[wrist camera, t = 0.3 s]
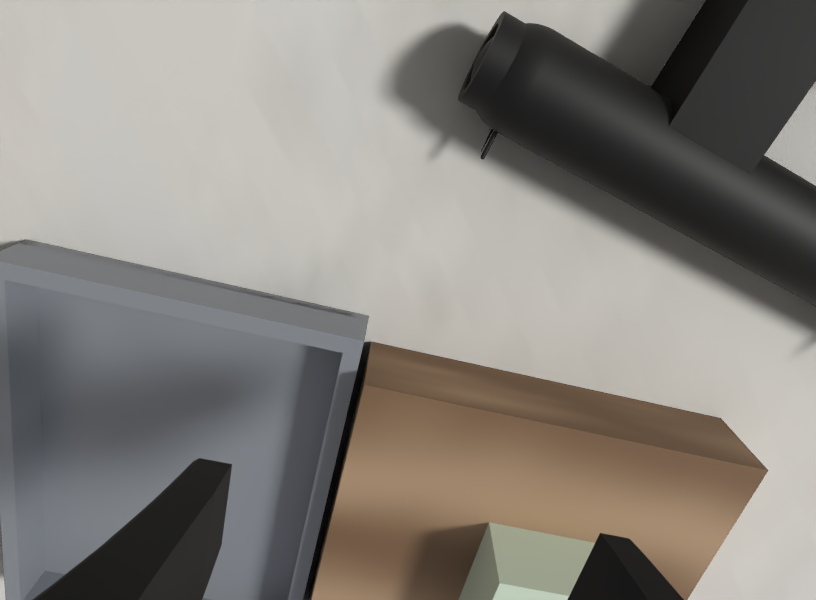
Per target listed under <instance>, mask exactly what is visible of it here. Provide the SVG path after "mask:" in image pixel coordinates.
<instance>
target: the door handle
mask: <svg viewBox="0 0 816 600" xmlns="http://www.w3.org/2000/svg"><path fill="white" fill-rule="evenodd" d="M815 81H816V0H706V1H705V3H704V4H703V6H702V8H701V9H700V11H699V12H698V14H697V15H696V17H695V19H694V20H693V22H692V23H691V25H690V27H689V28H688V30H687V31H686V33H685V34H684V36H683V38H682V39H681V41H680V42H679V44H678V45H677V47H676V49H675V50H674V52H673V53H672V55H671V57H670V58H669V60H668V61H667V63H666V64H665V66H664V68H663V69H662V71H661V72H660V74H659V75H658V77H657V79H656V80H655V82H654V83H653V85H652V86H651V88H650V87H649V86H647V85H645V84H644V83H642V82H640V81H638V80H637V79H635V78H633V77H632V76H630V75H628V74H627V73H625V72H623V71H622V70H620V69H618V68H617V67H615V66H613V65H612V64H610V63H608V62H607V61H605V60H603V59H602V58H600V57H598V56H596V55H595V54H593V53H591V52H590V51H588V50H586V49H585V48H583V47H581V46H580V45H578V44H576V43H575V42H573V41H571V40H570V39H568V38H566V37H565V36H563V35H561V34H560V33H558V32H556V31H555V30H553V29H551V28H549V27H546V26H543V25H539V24H532V23H526V24H525V23H523V22H522V21H520V20H518V19H517V18H515V17H513V16H512V15H510V14H508V13H507V12H505V11H504V12H503V13H502V14H501V15H500V16H499V18H498V19H497V21H496V22H495V24H494V26H493V27H492V29H491V31H490V32H489V34H488V36H487V38H486V40H485V41H484V43H483V45H482V47H481V49H480V51H479V53H478V55H477V56H476V58H475V60H474V62H473V64H472V67H471V69H470V71H469V73H468V75H467V77H466V79H465V82H464V84H463V86H462V89H461V91H460V94H459V97H458V100H459V101H461V102H463V103H464V104H466V105H468V106H470V107H472V108H474V109H475V110H476V111H477V112H478V114H479V116H480V117H481V118H482V120H483V121H484V122H485V123H486V124H487V125H488V126H489V127H490V128H492V129H491V131H490V133H489V136H488V138H487V140H486V142H487V141H488V139H489V137H490V135H491V134H492V132H493V130H495V131H494V132H493V134H492V136H491V138H490V140H489V142H488V144H487V146H486V147H485V149H484V151H483V153H482V155H481V159H484V158H485V156H486V154H487V152H488V151H489V149H490V147H491V145H492V143H493V141H494V139H495V137H496V136H497V134H498V133H500V134H502V135H504V136H506V137H507V138H509V139H511V140H513V141H515V142H517V143H518V144H520V145H522V146H524V147H526V148H528V149H529V150H531V151H533V152H535V153H537V154H539V155H540V156H542V157H544V158H546V159H548V160H550V161H551V162H553V163H555V164H557V165H559V166H561V167H562V168H564V169H566V170H568V171H570V172H571V173H573V174H575V175H577V176H579V177H581V178H582V179H584V180H586V181H588V182H590V183H592V184H593V185H595V186H597V187H599V188H601V189H603V190H604V191H606V192H608V193H610V194H612V195H614V196H615V197H617V198H619V199H621V200H623V201H625V202H626V203H628V204H630V205H632V206H634V207H636V208H637V209H639V210H641V211H643V212H645V213H647V214H648V215H650V216H652V217H654V218H656V219H658V220H659V221H661V222H663V223H665V224H667V225H669V226H670V227H672V228H674V229H676V230H678V231H680V232H681V233H683V234H685V235H687V236H689V237H691V238H692V239H694V240H696V241H698V242H700V243H702V244H703V245H705V246H707V247H709V248H711V249H712V250H714V251H716V252H718V253H720V254H722V255H723V256H725V257H727V258H729V259H731V260H733V261H734V262H736V263H738V264H740V265H742V266H744V267H745V268H747V269H749V270H751V271H753V272H755V273H756V274H758V275H760V276H762V277H764V278H766V279H767V280H769V281H771V282H773V283H775V284H777V285H778V286H780V287H782V288H784V289H786V290H788V291H789V292H791V293H793V294H795V295H797V296H799V297H800V298H802V299H804V300H806V301H808V302H810V303H811V304H813V305H815V306H816V186H815V185H813V184H811V183H810V182H808V181H806V180H805V179H803V178H801V177H800V176H798V175H796V174H795V173H793V172H791V171H790V170H788V169H786V168H785V167H783V166H781V165H780V164H778V163H776V162H774V161H773V160H771V159H769V158H768V157H766V156H764V154H765V153H766V151H767V150H768V148H769V147H770V146H771V144H772V143H773V141H774V140H775V138H776V137H777V136H778V134H779V133H780V131H781V130H782V128H783V127H784V126H785V124H786V123H787V121H788V120H789V118H790V117H791V116H792V114H793V113H794V111H795V110H796V108H797V107H798V105H799V104H800V103H801V101H802V100H803V98H804V97H805V95H806V94H807V93H808V91H809V90H810V88H811V87H812V85H813V84H814V83H815ZM489 130H490V129H489ZM486 142H485V144H486ZM485 144H484V146H485ZM484 146H483V147H484ZM482 149H483V148H482ZM481 151H482V150H481Z"/></svg>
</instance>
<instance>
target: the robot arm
mask: <svg viewBox="0 0 816 600" xmlns="http://www.w3.org/2000/svg"><path fill="white" fill-rule="evenodd" d="M231 470H232V464H229V463H223V462H218V461H213V460H207V459H202V458H198V459H197V460H195V461H193V462H192V463H191V464H190V465H189V466H188V467H187V468H186V469H185V470H184V471H183V472H182V473H181V474H180V475H179V476H178V477H177V478H176V479H175V480H174V481H173V482H172V483H171V484H170V485H169V486H168V487H167V488H166V489H165V490H164V491H162V492H161V493H160V494H159V495H158V496H157V497H156V498H155V499H154V500H153V501H152V502H151V503H150V504H148V505H147V506H146V507H145V508H144V509H143V510H142V511H141V512H140V513H138V514H137V515H136V516H135V517H134V518H133V519H132V520H130V521H129V522H128V523H127V524H126V525H125V526H124V527H122V528H121V529H120V530H119V531H118V532H117V533H115V534H114V535H113V536H112V537H111V538H110V539H109V540H107V541H106V542H105V543H104V544H103V545H101V546H100V547H99V548H98V549H97V550H95V551H94V552H93V553H92V554H90V555H89V556H88V557H87V558H85V559H84V560H83V561H82V562H80V563H79V564H78V565H76V566H75V567H74V568H73V569H71V570H70V571H69V572H68V573H66V574H65V575H64V576H63V577H61V578H60V579H59V580H58V581H56V582H55V583H54V584H52V585H51V586H50V587H49V588H47V589H46V590H45V591H43V592H42V593H41V594H39V595H38V596H36V597H35V598H34V599H32V600H202V599H203V596H204V593H205V591H206V588H207V585H208V582H209V580H210V577H211V574H212V571H213V568H214V565H215V562H216V560H217V557H218V554H219V551H220V548H221V545H222V538H223V530H224V522H225V515H226V507H227V500H228V492H229V485H230V477H231ZM568 600H684V599H683V598H682V597H681V596H680V595H679V593H678V592H677V591H676V590H675V589H674V588H673V587H672V585H671V584H670V583H669V582H668V581H667V580H666V578H665V577H664V576H663V575H662V574H661V573H660V572H659V570H658V569H657V568H656V567H655V566H654V565H653V564H652V562H651V561H650V560H649V559H648V558H647V557H646V556H645V555H644V553H643V552H642V551H641V550H640V549H639V548H638V547H637V546H636V545H635V544H634V543H633V542H632V541H631V540H630V539H629V538H624V537H619V536H614V535H608V534H603V533H600V534H599V536H598V538H597V540H596V542H595V544H594V546H593V548H592V550H591V553H590V555H589V557H588V559H587V561H586V563H585V565H584V567H583V569H582V571H581V573H580V575H579V577H578V579H577V581H576V583H575V585H574V587H573V589H572V591H571V594H570V596H569V598H568Z"/></svg>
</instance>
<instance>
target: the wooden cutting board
mask: <svg viewBox="0 0 816 600" xmlns="http://www.w3.org/2000/svg"><path fill="white" fill-rule="evenodd" d="M767 472H768V470H767V469H766V468H765V466H764V465H763V464H762V463H761V462H760V461H759V460H758V459H757V458H756V456H755V455H754V454H753V453H752V452H751V451H750V450H749V449H748V448H747V447H746V445H745V444H744V443H743V442H742V441H741V440H740V439H739V438H738V437H737V436H736V434H735V433H734V432H733V431H732V430H731V429H730V428H729V427H728V426H727V424H726V423H725V422H724V421H723V420H722V419H721V418H716V417H712V416H707V415H703V414H698V413H694V412H689V411H685V410H680V409H675V408H671V407H666V406H662V405H657V404H653V403H648V402H643V401H639V400H634V399H630V398H625V397H621V396H616V395H612V394H607V393H602V392H598V391H593V390H589V389H584V388H580V387H575V386H570V385H566V384H561V383H557V382H552V381H548V380H543V379H539V378H534V377H529V376H525V375H520V374H516V373H511V372H507V371H502V370H497V369H493V368H488V367H484V366H479V365H475V364H470V363H465V362H461V361H456V360H452V359H447V358H443V357H438V356H434V355H429V354H424V353H420V352H415V351H411V350H406V349H402V348H397V347H392V346H388V345H383V344H379V343H374V342H371V344H370V348H369V352H368V357H367V361H366V365H365V369H364V373H363V377H362V381H361V385H360V390H359V394H358V398H357V402H356V406H355V410H354V414H353V418H352V423H351V427H350V431H349V435H348V439H347V443H346V447H345V451H344V456H343V460H342V464H341V468H340V472H339V476H338V480H337V484H336V489H335V493H334V497H333V501H332V505H331V509H330V513H329V517H328V522H327V526H326V530H325V534H324V538H323V542H322V546H321V550H320V555H319V559H318V563H317V567H316V571H315V575H314V579H313V583H312V588H311V592H310V596H309V600H459V597H460V595H461V592H462V590H463V587H464V585H465V582H466V579H467V577H468V574H469V572H470V569H471V567H472V564H473V562H474V559H475V557H476V554H477V552H478V549H479V547H480V544H481V541H482V539H483V536H484V534H485V531H486V529H487V526H488V524H489V522H490V523H495V524H501V525H506V526H511V527H516V528H521V529H526V530H532V531H537V532H542V533H547V534H552V535H557V536H563V537H568V538H573V539H578V540H583V541H588V542H593V543H595V542H596V540H597V538H598V536H599V534H600V533H603V534H608V535H614V536H619V537H624V538H629V539H630V540H631V541H632V542H633V543H634V544H635V545H636V546H637V547H638V548H639V549H640V550H641V551H642V552H643V553H644V555H645V556H646V557H647V558H648V559H649V560H650V561H651V562H652V564H653V565H654V566H655V567H656V568H657V569H658V570H659V572H660V573H661V574H662V575H663V576H664V577H665V578H666V580H667V581H668V582H669V583H670V584H671V585H672V587H673V588H674V589H675V590H676V591H677V592H678V593H679V595H680V596H681V597H682V598H683V599H684V600H687V599H688V598H689V596H690V594H691V593H692V591H693V590H694V588H695V586H696V585H697V583H698V582H699V580H700V578H701V577H702V575H703V574H704V572H705V570H706V569H707V567H708V566H709V564H710V562H711V561H712V559H713V558H714V556H715V554H716V553H717V551H718V550H719V548H720V547H721V545H722V543H723V542H724V540H725V539H726V537H727V535H728V534H729V532H730V531H731V529H732V527H733V526H734V524H735V523H736V521H737V519H738V518H739V516H740V515H741V513H742V511H743V510H744V508H745V507H746V505H747V503H748V502H749V500H750V499H751V497H752V495H753V494H754V492H755V491H756V489H757V488H758V486H759V484H760V483H761V481H762V480H763V478H764V476H765V475H766V473H767Z"/></svg>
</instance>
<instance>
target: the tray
mask: <svg viewBox="0 0 816 600" xmlns="http://www.w3.org/2000/svg"><path fill="white" fill-rule="evenodd" d="M368 318H369V316H366V315H362V314H357V313H353V312H348V311H344V310H340V309H335V308H331V307H326V306H322V305H317V304H313V303H308V302H304V301H299V300H295V299H290V298H286V297H281V296H277V295H272V294H268V293H263V292H259V291H254V290H250V289H245V288H241V287H236V286H232V285H227V284H223V283H219V282H214V281H210V280H205V279H201V278H196V277H192V276H187V275H183V274H178V273H174V272H169V271H165V270H160V269H156V268H151V267H147V266H142V265H138V264H133V263H129V262H124V261H120V260H115V259H111V258H107V257H102V256H98V255H93V254H89V253H84V252H80V251H75V250H71V249H66V248H62V247H57V246H53V245H48V244H44V243H39V242H35V241H30V240H24V241H22V242H20V243H17V244H15V245H12V246H10V247H8V248H5V249H3V250H1V251H0V521H1V536H2V552H3V567H4V582H5V598H6V600H32V599H34V598H35V597H36V596H38V595H39V594H41V593H42V592H43V591H45V590H46V589H47V588H49V587H50V586H51V585H52V584H54V583H55V582H56V581H58V580H59V579H60V578H61V577H63V576H64V575H65V574H66V573H68V572H69V571H70V570H71V569H73V568H74V567H75V566H76V565H78V564H79V563H80V562H82V561H83V560H84V559H85V558H87V557H88V556H89V555H90V554H92V553H93V552H94V551H95V550H97V549H98V548H99V547H100V546H101V545H103V544H104V543H105V542H106V541H107V540H109V539H110V538H111V537H112V536H113V535H114V534H115V533H117V532H118V531H119V530H120V529H121V528H122V527H124V526H125V525H126V524H127V523H128V522H129V521H130V520H132V519H133V518H134V517H135V516H136V515H137V514H138V513H140V512H141V511H142V510H143V509H144V508H145V507H146V506H147V505H148V504H150V503H151V502H152V501H153V500H154V499H155V498H156V497H157V496H158V495H159V494H160V493H161V492H162V491H164V490H165V489H166V488H167V487H168V486H169V485H170V484H171V483H172V482H173V481H174V480H175V479H176V478H177V477H178V476H179V475H180V474H181V473H182V472H183V471H184V470H185V469H186V468H187V467H188V466H189V465H190V464H191V463H192V462H193V461H195V460H197V459H198V458H202V459H207V460H213V461H218V462H223V463H229V464H232V470H231V477H230V485H229V492H228V500H227V507H226V515H225V522H224V530H223V538H222V545H221V548H220V551H219V554H218V557H217V560H216V562H215V565H214V568H213V571H212V574H211V577H210V580H209V582H208V585H207V588H206V591H205V593H204V596H203V599H202V600H303V598H304V593H305V589H306V585H307V581H308V576H309V572H310V568H311V564H312V560H313V555H314V551H315V547H316V543H317V538H318V534H319V530H320V526H321V522H322V517H323V513H324V509H325V505H326V500H327V496H328V492H329V488H330V484H331V479H332V475H333V471H334V467H335V462H336V458H337V454H338V450H339V446H340V441H341V437H342V433H343V429H344V424H345V420H346V416H347V412H348V408H349V403H350V399H351V395H352V391H353V386H354V382H355V378H356V374H357V369H358V365H359V361H360V357H361V353H362V348H363V344H364V340H365V334H366V329H367V323H368Z"/></svg>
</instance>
